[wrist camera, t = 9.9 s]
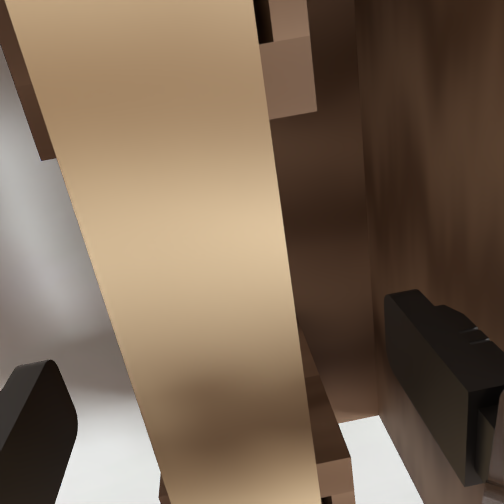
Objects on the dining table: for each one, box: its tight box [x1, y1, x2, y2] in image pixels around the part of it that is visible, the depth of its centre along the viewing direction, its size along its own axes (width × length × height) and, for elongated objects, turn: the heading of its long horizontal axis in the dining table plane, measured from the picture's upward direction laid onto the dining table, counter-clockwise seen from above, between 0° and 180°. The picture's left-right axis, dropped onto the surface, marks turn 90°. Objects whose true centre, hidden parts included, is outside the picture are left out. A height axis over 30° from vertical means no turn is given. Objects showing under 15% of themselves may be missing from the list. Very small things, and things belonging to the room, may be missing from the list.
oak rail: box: [5, 0, 321, 504], centre depth 12 cm, size 18×3×8 cm, turn 9°
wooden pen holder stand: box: [0, 0, 504, 504], centre depth 16 cm, size 26×12×14 cm, turn 9°
